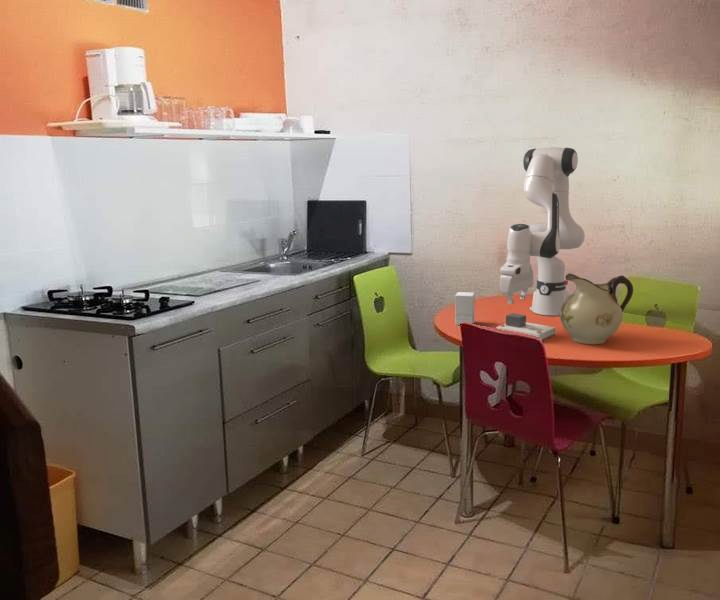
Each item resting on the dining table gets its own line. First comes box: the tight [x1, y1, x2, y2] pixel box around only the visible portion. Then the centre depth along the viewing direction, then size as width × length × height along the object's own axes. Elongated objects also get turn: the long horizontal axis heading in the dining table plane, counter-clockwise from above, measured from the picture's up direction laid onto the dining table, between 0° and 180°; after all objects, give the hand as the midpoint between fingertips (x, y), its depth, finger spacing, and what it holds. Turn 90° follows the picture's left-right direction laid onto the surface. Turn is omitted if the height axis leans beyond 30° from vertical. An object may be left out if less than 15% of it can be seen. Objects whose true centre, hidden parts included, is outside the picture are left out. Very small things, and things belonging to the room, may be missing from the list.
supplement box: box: [454, 291, 476, 326], centre depth 292 cm, size 7×7×13 cm
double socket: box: [496, 321, 557, 341], centre depth 275 cm, size 14×18×4 cm
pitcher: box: [559, 272, 634, 345], centre depth 265 cm, size 22×24×25 cm
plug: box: [505, 312, 527, 328], centre depth 277 cm, size 5×6×6 cm
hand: (516, 301), depth 275 cm, fingers open, 8 cm apart
